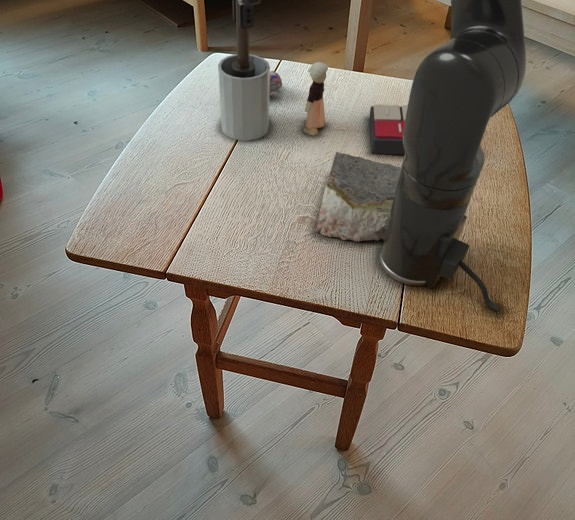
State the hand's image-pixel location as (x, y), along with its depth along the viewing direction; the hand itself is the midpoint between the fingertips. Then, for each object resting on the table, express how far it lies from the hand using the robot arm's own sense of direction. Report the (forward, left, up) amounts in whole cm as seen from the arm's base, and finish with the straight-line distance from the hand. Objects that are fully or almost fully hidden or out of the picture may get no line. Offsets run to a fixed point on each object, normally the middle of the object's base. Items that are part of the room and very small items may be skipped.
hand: (243, 23), depth 87 cm
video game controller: (+5, -10, -19) cm, 22 cm away
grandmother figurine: (-10, -8, -19) cm, 23 cm away
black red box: (-26, -16, -19) cm, 36 cm away
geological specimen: (-28, +7, -19) cm, 35 cm away
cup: (0, 0, -19) cm, 19 cm away
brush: (0, 0, -12) cm, 12 cm away
